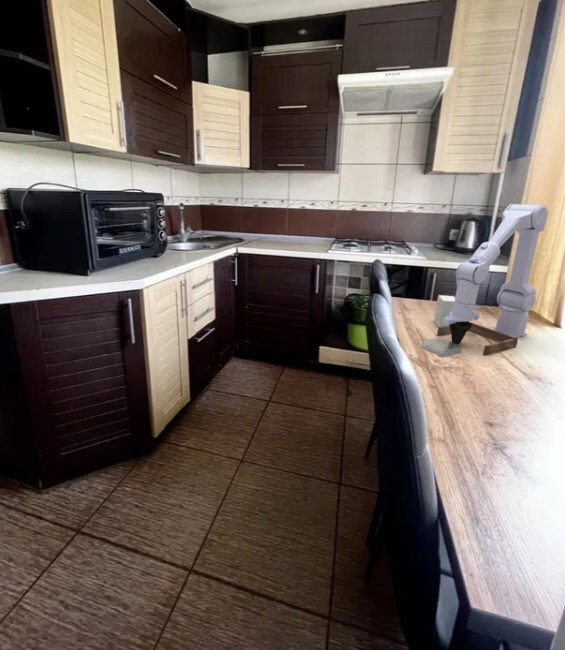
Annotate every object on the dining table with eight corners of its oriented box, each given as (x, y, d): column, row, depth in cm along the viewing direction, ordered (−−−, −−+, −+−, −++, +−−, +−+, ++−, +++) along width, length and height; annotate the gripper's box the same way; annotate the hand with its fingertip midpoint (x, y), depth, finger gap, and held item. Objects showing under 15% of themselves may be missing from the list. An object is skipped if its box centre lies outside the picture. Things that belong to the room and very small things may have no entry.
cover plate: (438, 344, 112) (439, 337, 111) (460, 353, 105) (461, 346, 104) (420, 348, 108) (422, 341, 107) (442, 358, 101) (443, 350, 101)
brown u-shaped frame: (466, 329, 124) (467, 321, 123) (515, 347, 110) (518, 338, 109) (436, 335, 118) (438, 327, 117) (485, 355, 103) (487, 346, 102)
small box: (454, 329, 124) (460, 301, 120) (437, 328, 125) (443, 300, 121) (448, 322, 131) (454, 295, 127) (433, 321, 132) (438, 294, 128)
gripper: (468, 296, 111) (459, 335, 116) (437, 301, 105) (429, 342, 109) (489, 302, 105) (479, 342, 110) (457, 307, 99) (448, 350, 103)
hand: (455, 343), depth 109 cm, fingers closed
